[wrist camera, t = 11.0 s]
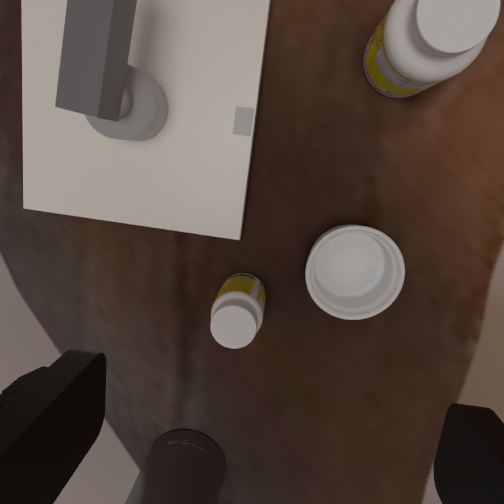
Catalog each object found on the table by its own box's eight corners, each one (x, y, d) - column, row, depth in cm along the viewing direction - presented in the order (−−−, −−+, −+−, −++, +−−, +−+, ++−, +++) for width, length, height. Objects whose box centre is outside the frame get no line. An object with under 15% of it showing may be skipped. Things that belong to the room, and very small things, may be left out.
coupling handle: (130, 124, 33) (97, 117, 27) (93, 114, 33) (53, 106, 27) (153, -19, 30) (122, -58, 24) (113, -28, 30) (74, -70, 25)
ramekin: (321, 206, 39) (325, 212, 35) (407, 235, 39) (421, 244, 35) (291, 287, 41) (291, 302, 37) (372, 314, 41) (382, 333, 37)
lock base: (241, 236, 40) (233, 250, 35) (32, 206, 42) (-9, 214, 36) (271, -7, 35) (268, -38, 29) (31, -34, 36) (-18, -70, 30)
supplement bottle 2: (412, 0, 34) (483, -87, 22) (453, 66, 35) (543, 18, 23) (346, 52, 36) (378, -3, 23) (387, 115, 37) (438, 94, 24)
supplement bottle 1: (211, 293, 42) (193, 326, 34) (241, 262, 41) (230, 289, 33) (245, 323, 43) (235, 363, 35) (275, 293, 42) (272, 327, 33)
